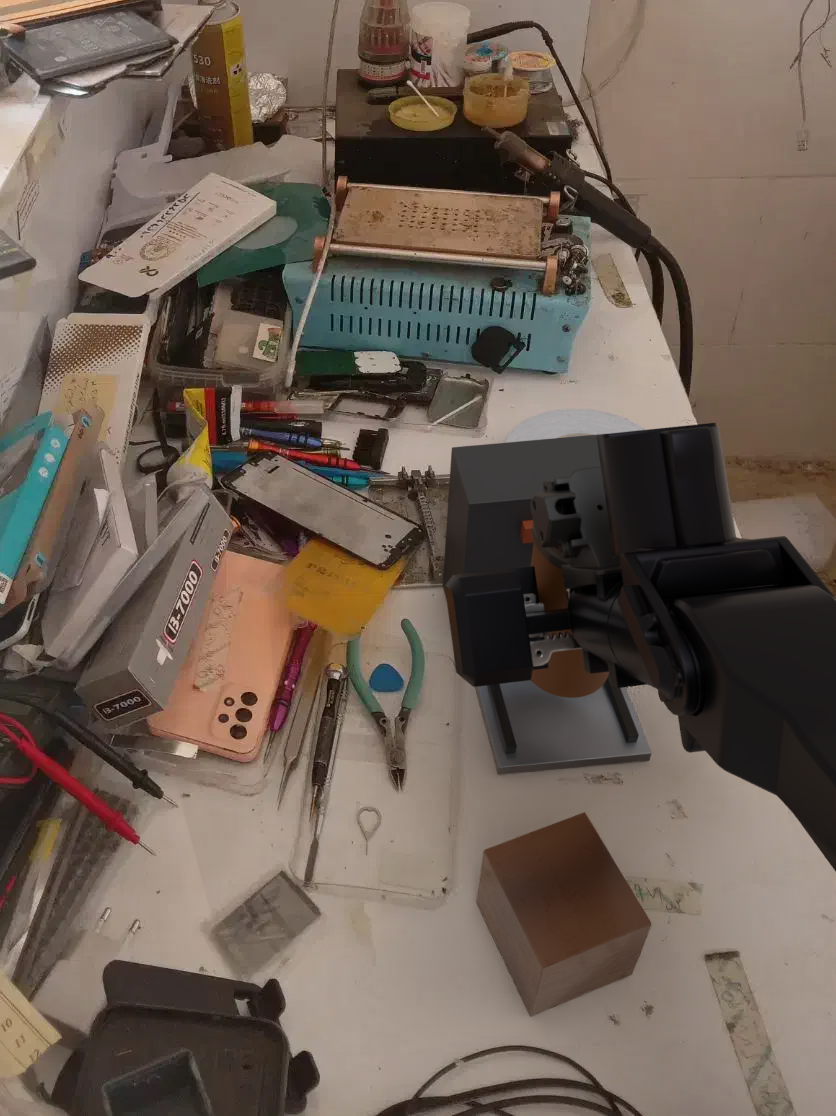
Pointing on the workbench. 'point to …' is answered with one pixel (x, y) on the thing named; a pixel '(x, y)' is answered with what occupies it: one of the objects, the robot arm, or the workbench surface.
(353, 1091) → the workbench surface
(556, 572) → the carafe
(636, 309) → the workbench surface
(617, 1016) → the workbench surface
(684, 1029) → the workbench surface
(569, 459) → the coffee maker
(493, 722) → the drip pan
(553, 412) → the tape roll
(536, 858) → the brown cube
